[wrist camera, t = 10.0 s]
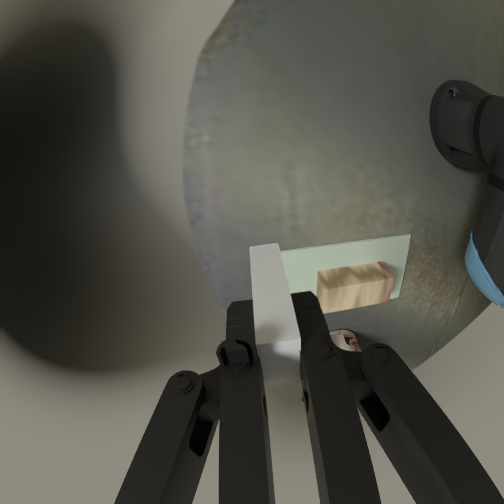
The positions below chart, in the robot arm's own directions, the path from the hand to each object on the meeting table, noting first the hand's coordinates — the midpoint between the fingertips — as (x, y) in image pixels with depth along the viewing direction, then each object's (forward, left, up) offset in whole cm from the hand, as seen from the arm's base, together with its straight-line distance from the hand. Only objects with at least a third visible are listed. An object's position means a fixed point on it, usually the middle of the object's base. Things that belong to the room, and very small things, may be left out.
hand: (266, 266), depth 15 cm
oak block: (-9, +21, -22) cm, 31 cm away
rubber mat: (-13, +21, -25) cm, 35 cm away
